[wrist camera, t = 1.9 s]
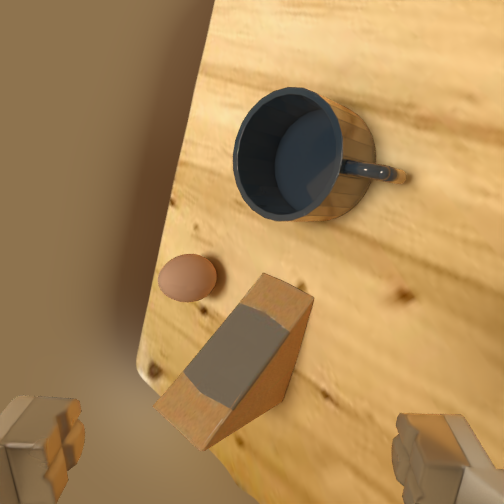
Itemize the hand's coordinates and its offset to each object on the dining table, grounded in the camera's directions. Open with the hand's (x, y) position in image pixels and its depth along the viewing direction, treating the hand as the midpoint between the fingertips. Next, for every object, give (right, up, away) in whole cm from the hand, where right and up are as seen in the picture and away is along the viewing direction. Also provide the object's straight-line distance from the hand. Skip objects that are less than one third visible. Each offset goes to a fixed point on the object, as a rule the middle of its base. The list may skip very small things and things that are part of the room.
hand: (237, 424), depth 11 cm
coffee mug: (+10, +14, +37) cm, 41 cm away
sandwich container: (+3, -7, +44) cm, 45 cm away
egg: (-6, +1, +50) cm, 51 cm away
